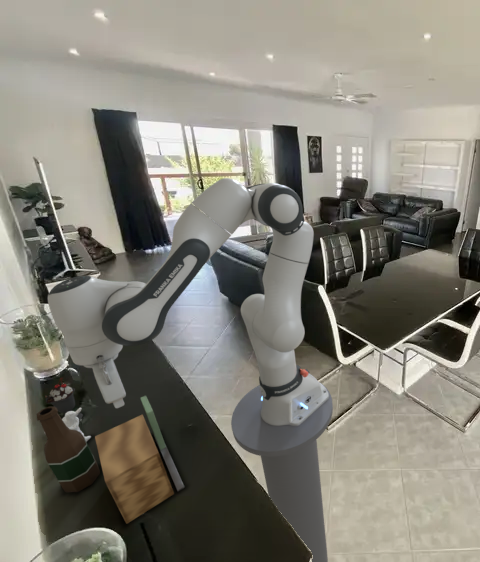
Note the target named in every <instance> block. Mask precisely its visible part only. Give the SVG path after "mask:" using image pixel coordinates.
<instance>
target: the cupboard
mask: <svg viewBox="0 0 480 562" xmlns="http://www.w3.org/2000/svg"><path fill="white" fill-rule="evenodd" d="M153 437H154V438H153ZM154 439H155V440H154ZM94 440H95V444H96V449H97V452H98V457H99V461H100V466H101V470H102V475H103V480H104V483H105V485H106V488H107V489H108V490H109V493H110V495H111V496H112V499H113V500H114V502H115V505H116V507H117V508H118V511H119V512H120V514H121V516H122V518H123V520H124V522H125V524H127V525H128V524H129V523H130V522H132V521H134V520H135V519H137V518H138V517H140V516H142V515H143V514H145V513H146V512H147V511H150V510H152V509H153V508H154V507H156V506H158V505H159V504H161V503H162V502H164V501H166V500H167V499H169V498H170V497H171V496H173V495H175V492H174V489H173V488H172V484H171V482H170V478H169V475H170V477H171V480H172V481H173V482H172V483H173V484H174V487H175V489H176V491H177V492H180V491H182V490H183V489H184V488H185V485H184V482H183V481H182V478H181V476H180V474H179V472H178V469H177V467H176V465H175V463H174V460H173V458H172V456H171V454H170V452H169V449H168V447H167V446H166V447H165V448H163V449H162V450H160V447H159V445H158V443H157V440H156V438H155V436H154V433H153V436H152V434H151V431H150V428H149V426H148V424H147V421H146V418H145V417H144V414H141V415H138V416H136V417H134V418H132V419H129V420H127V421H124V422H123V423H121V424H119V425H116V426H115V427H112V428H110V429H108V430H106V431H103V432H101V433H100V434H97V435H95V436H94ZM155 442H156V443H155ZM164 443H165V441H164ZM156 444H157V446H158V447H157V446H156ZM165 444H166V443H165ZM158 448H159V450H158ZM159 451H160V453H159ZM160 454H161V455H162V458H163V461H164V462H165V466H166V467H167V470H168V472H169V475H168V474H167V470H166V468H165V466H164V463H163V461H162V458H161V455H160Z"/></svg>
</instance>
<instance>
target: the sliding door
mask: <svg viewBox="0 0 480 562" xmlns="http://www.w3.org/2000/svg"><path fill="white" fill-rule="evenodd" d="M139 399H140V401H141V404H142V408H143V409H144V412H145V414H146V417H147V420H148V423H149V425H150V429H151V431H152V433H153V434H154V435H153V437H154V436H155V437H154V439H155V438H156V439H155V441H156V440H157V442H156V444H157V443H158V444H157V446H158V445H159V446H158V448H159V447H160V449H159V451H160V450H162V449H163V448H165V447H167V445H166V443H164V442H165V440H164V438H163V435H162V432H161V429H160V426H159V423H158V421H157V418H156V415H155V412H154V410H153V407H152V405H151V403H150V401H149V399H148V397H147V395H144V396H141V397H140V398H139Z"/></svg>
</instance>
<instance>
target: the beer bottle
mask: <svg viewBox="0 0 480 562" xmlns="http://www.w3.org/2000/svg"><path fill="white" fill-rule="evenodd" d="M62 419H63V418H62V417H61V416H60V414H59V411H58V410H57V408H56V407H54V406H47V407H44V408H43V409H40V410H39V411H38V412H37V413H36V421H39V423H40V424H41V427H42V429H43V432H45V433H44V435H45V436H46V439H47V440H46V442H45V443H44V449H43V450H44V451H43V452H44V457H45V460H46V463H47V465H48V466H49V468H50V470H51V472H52V473H53V475H54V476H55V478H56V480H57V482H58V483H59V485H60V487H61V488H62V490H63V491H64V492H65V493H80V492H81V491H83V490H85V489H86V488H87V487H89V486H91V485H92V484H94V483H95V481H96V480H97V478H98V477H99V476H100V474H101V471H100V467H99V465H98V462H97V460H96V458H95V456H94V454H93V451H92V450H91V448H90V446H89V444H88V441H87V442H86V440H85V438H84V437H85V436H84V437H83V435H82V434H81V433H80V432H78V431H77V430H72V429H69V428H68V427H67V426H66V425H65V423H64V422H63V420H62Z"/></svg>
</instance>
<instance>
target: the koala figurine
mask: <svg viewBox="0 0 480 562" xmlns="http://www.w3.org/2000/svg"><path fill="white" fill-rule="evenodd" d="M82 409H83V408H82V407H79V408H77V410H76V411H74V410H72V411H69V412H67V413H64V416H63V417H62V418H61V419H62V420H63V422H64V423H65V425H66V426H67V427H68V428H69V429H72V430H77V431H78V432H80V433H81V434H82V435H83V437H84V438H85V440H86V442H87V443H88V441H89V440H90V439H91V438H92V436H91V435H87V436H85V433H84V432H83V431H82V430H81V428H80V426H79V424H80V420H79V419H78V417H76V416H77V415H78V413H81V412H82ZM43 432H44V431H43ZM44 434H45V432H44Z"/></svg>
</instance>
